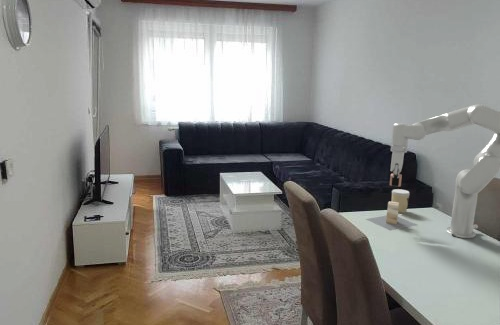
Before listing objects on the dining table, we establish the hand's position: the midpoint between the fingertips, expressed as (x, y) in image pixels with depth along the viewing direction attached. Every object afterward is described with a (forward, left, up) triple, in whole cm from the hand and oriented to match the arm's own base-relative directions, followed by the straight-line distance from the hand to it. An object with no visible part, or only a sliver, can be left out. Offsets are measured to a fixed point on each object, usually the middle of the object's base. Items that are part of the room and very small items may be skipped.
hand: (395, 183), depth 198 cm
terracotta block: (0, 0, 0) cm, 0 cm away
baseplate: (0, 0, -21) cm, 21 cm away
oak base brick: (0, 0, -20) cm, 20 cm away
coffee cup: (-19, -13, -21) cm, 31 cm away
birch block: (0, 0, -15) cm, 15 cm away
